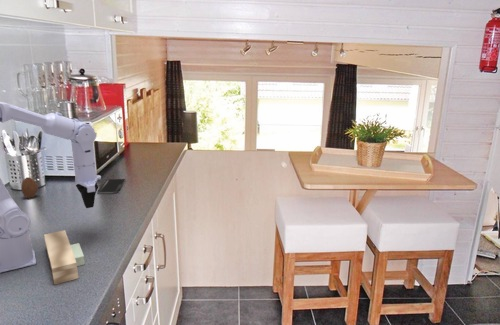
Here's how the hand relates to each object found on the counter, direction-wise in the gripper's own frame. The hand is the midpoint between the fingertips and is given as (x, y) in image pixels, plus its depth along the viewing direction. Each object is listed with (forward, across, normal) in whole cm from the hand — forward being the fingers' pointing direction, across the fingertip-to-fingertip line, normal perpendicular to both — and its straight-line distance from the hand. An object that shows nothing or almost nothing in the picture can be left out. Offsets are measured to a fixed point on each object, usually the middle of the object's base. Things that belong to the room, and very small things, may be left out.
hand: (89, 206), depth 118 cm
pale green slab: (+9, -12, +8) cm, 17 cm away
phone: (+10, +39, -15) cm, 43 cm away
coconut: (+10, +42, +14) cm, 45 cm away
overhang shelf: (+9, -12, +10) cm, 18 cm away
